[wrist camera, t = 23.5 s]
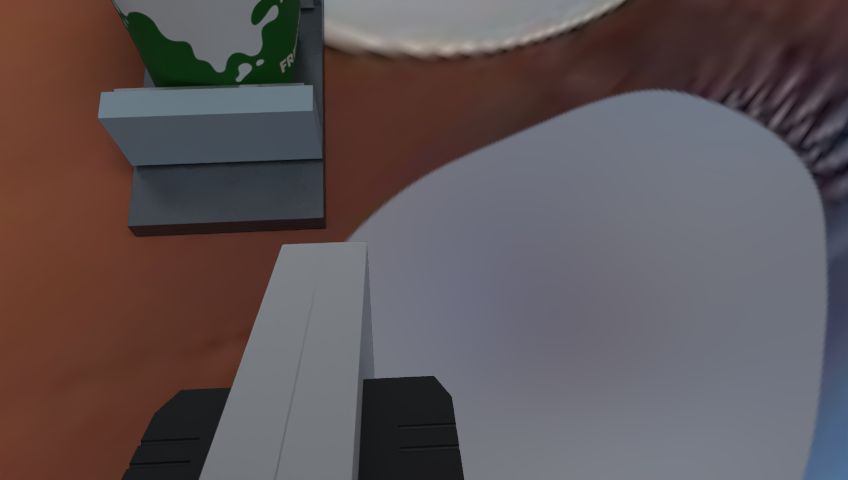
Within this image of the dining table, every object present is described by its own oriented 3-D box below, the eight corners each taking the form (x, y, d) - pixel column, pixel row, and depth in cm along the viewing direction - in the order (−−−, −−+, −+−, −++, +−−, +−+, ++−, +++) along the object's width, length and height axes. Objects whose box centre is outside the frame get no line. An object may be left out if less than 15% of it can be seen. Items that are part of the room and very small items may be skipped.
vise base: (161, 7, 47) (126, -70, 41) (323, 2, 48) (313, -74, 42) (136, 236, 41) (91, 185, 35) (325, 228, 41) (313, 176, 35)
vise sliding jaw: (135, 136, 41) (102, 85, 37) (322, 129, 42) (312, 79, 37) (132, 165, 40) (97, 118, 36) (322, 158, 41) (312, 110, 36)
